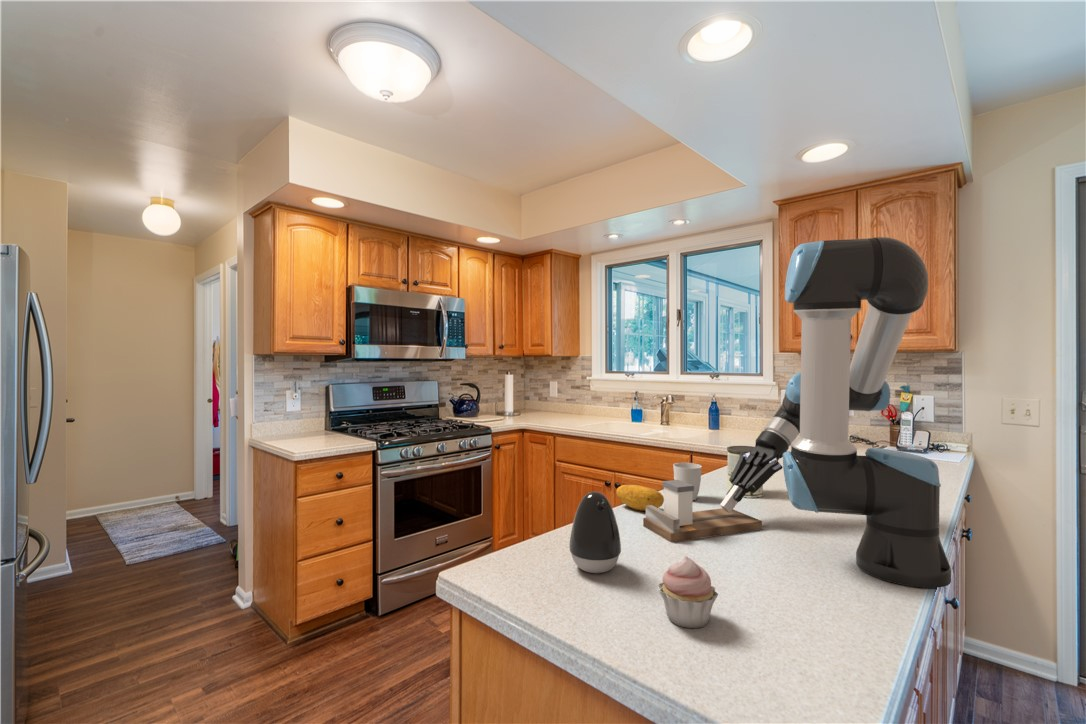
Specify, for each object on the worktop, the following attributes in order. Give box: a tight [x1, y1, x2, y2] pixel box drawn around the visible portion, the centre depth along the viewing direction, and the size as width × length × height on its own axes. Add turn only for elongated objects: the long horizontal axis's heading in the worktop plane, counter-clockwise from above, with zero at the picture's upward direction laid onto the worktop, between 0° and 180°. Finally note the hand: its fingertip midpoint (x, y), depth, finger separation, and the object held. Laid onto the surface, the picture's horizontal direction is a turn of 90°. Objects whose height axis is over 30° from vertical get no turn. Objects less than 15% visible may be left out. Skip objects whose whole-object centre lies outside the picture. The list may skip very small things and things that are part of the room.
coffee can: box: [726, 445, 764, 499], centre depth 156 cm, size 10×10×14 cm
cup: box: [672, 462, 703, 501], centre depth 150 cm, size 8×8×10 cm
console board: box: [642, 505, 763, 543], centre depth 125 cm, size 26×12×5 cm, turn 110°
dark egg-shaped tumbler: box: [569, 491, 622, 574], centre depth 100 cm, size 10×10×15 cm
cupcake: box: [657, 555, 719, 629], centre depth 81 cm, size 9×9×10 cm
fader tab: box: [661, 479, 694, 526], centre depth 122 cm, size 5×6×9 cm
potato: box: [615, 484, 664, 512], centre depth 140 cm, size 8×14×7 cm, turn 44°
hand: (724, 509), depth 127 cm, fingers closed
